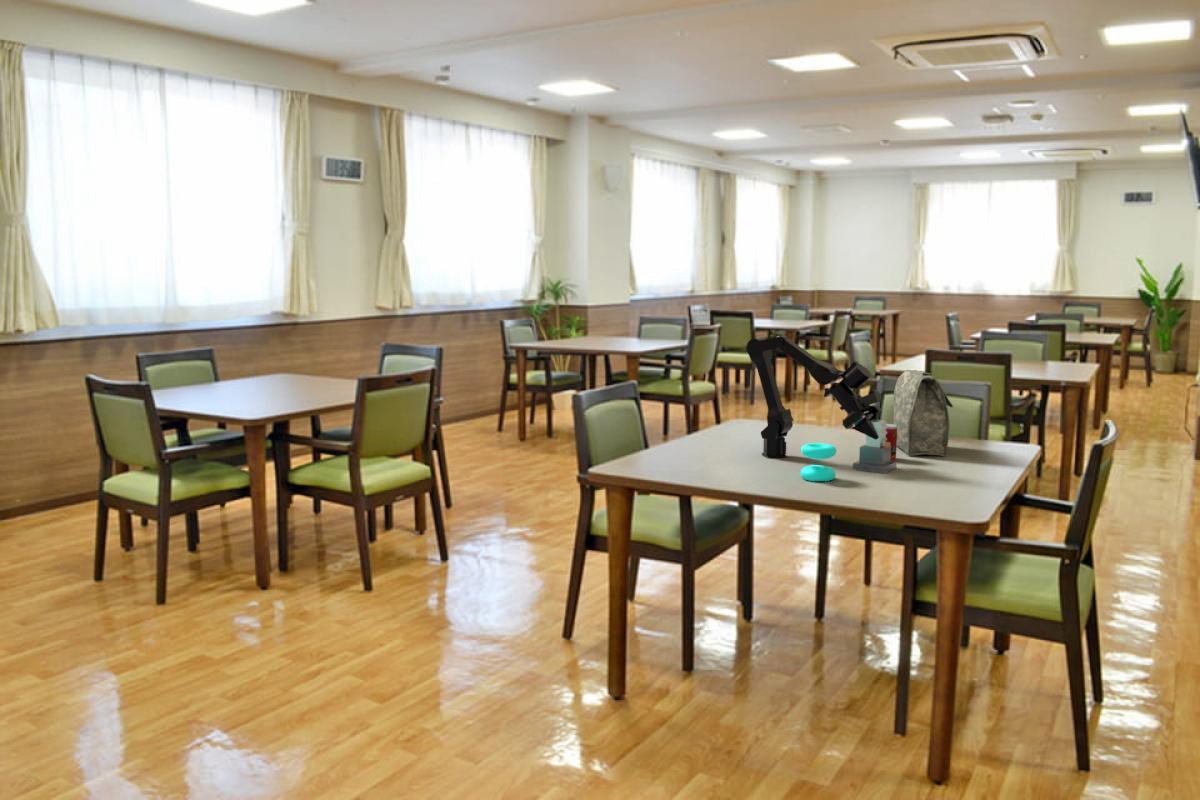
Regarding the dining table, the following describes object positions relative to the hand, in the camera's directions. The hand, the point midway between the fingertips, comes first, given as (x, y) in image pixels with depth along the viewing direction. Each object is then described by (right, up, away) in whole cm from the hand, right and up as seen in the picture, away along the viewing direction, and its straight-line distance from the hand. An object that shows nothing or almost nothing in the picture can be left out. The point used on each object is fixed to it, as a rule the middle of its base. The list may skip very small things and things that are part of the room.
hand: (880, 437), depth 296 cm
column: (-1, -7, +2) cm, 7 cm away
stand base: (-1, -10, +2) cm, 10 cm away
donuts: (-22, -12, -12) cm, 27 cm away
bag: (+23, -6, +32) cm, 40 cm away
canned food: (+6, -8, +18) cm, 20 cm away
